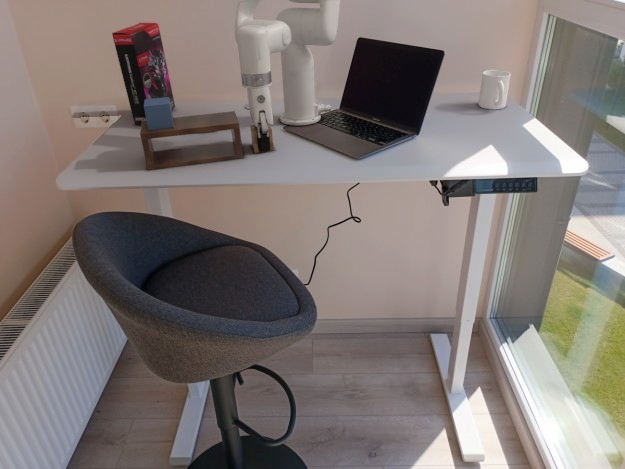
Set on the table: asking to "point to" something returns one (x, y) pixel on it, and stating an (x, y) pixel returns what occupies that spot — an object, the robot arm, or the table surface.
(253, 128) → the cardboard box
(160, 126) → the blue box
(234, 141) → the brown rectangular fixture
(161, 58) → the graphics card box
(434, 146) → the table surface
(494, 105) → the mug
